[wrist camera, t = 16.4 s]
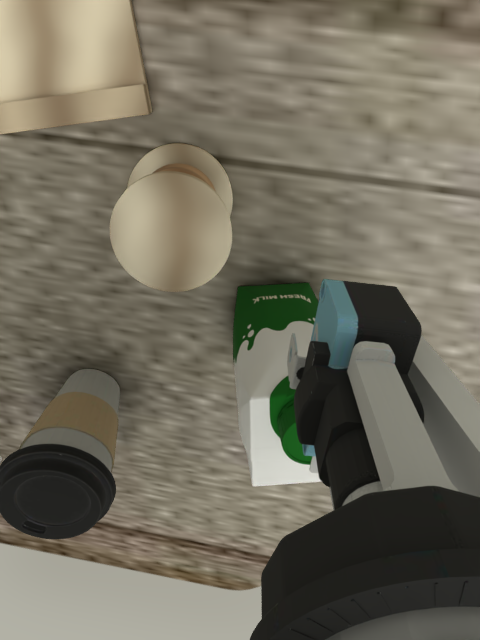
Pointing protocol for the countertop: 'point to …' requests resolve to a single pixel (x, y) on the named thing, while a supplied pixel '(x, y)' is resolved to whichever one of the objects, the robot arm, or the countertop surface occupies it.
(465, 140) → the countertop surface
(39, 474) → the coffee cup
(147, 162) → the bobbin
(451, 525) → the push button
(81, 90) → the terminal board
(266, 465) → the milk carton
